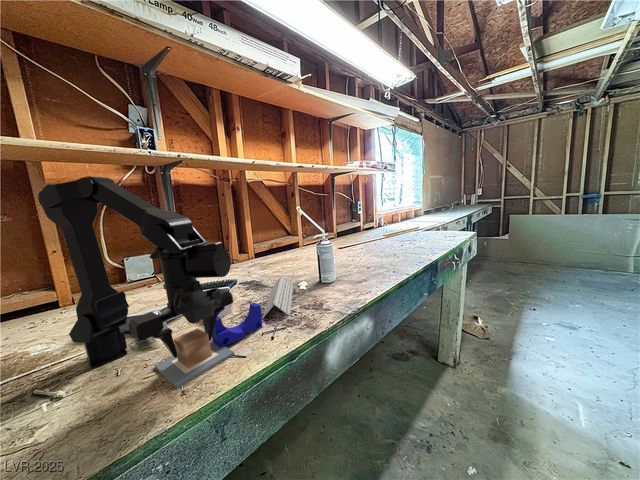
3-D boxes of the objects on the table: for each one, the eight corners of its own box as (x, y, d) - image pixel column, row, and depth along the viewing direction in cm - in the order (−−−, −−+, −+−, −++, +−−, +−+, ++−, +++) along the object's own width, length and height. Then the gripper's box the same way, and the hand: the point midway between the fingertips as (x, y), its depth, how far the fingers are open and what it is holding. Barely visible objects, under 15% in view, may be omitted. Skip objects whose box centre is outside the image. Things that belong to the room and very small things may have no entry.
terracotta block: (188, 368, 51) (183, 345, 50) (177, 360, 54) (173, 338, 53) (211, 355, 54) (208, 334, 54) (200, 348, 57) (197, 328, 57)
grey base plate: (176, 388, 46) (176, 385, 46) (155, 367, 53) (154, 364, 53) (234, 354, 55) (234, 351, 55) (209, 340, 62) (209, 337, 62)
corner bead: (272, 287, 100) (270, 275, 99) (294, 285, 100) (293, 273, 100) (260, 321, 71) (257, 305, 71) (291, 317, 72) (289, 301, 71)
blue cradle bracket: (220, 347, 57) (217, 322, 57) (212, 341, 60) (209, 317, 60) (265, 328, 66) (263, 306, 65) (256, 323, 69) (254, 302, 68)
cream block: (217, 319, 74) (214, 303, 73) (208, 315, 77) (206, 300, 77) (232, 312, 78) (229, 297, 77) (223, 309, 81) (221, 294, 80)
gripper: (139, 301, 39) (158, 391, 41) (242, 269, 53) (252, 337, 56) (120, 290, 46) (137, 367, 49) (215, 265, 60) (225, 325, 63)
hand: (193, 348), depth 54 cm, fingers open, 7 cm apart
